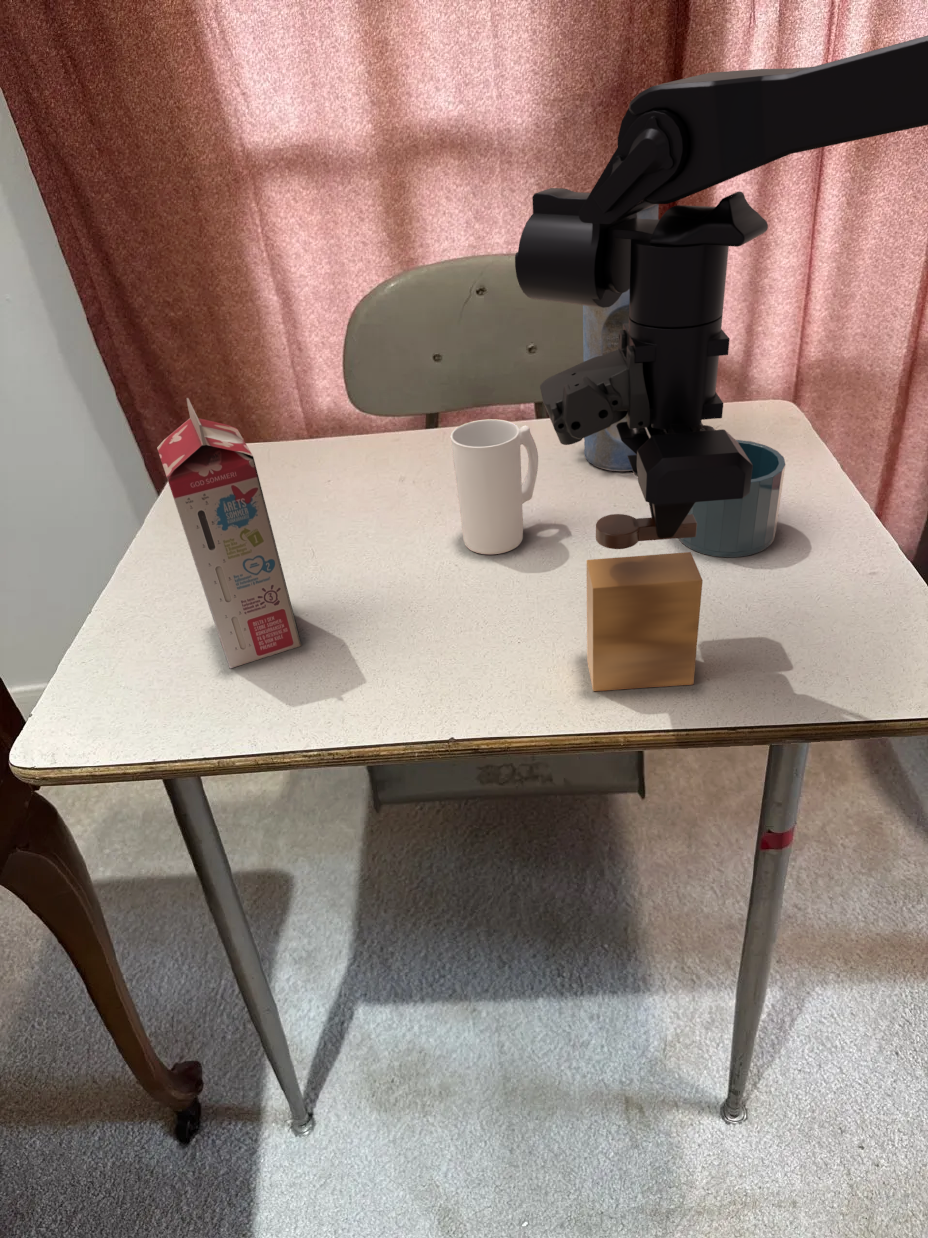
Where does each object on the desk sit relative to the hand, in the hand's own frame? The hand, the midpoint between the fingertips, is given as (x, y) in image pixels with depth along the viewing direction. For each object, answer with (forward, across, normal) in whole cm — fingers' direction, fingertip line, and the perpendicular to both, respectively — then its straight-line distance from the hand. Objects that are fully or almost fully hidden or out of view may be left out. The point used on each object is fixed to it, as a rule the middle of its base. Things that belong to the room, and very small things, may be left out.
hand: (662, 531), depth 61 cm
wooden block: (+13, +1, -1) cm, 13 cm away
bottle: (+13, -40, +4) cm, 43 cm away
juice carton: (+13, -8, -35) cm, 38 cm away
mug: (+13, -24, -11) cm, 29 cm away
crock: (+13, -20, +11) cm, 27 cm away
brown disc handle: (0, 0, -1) cm, 1 cm away
